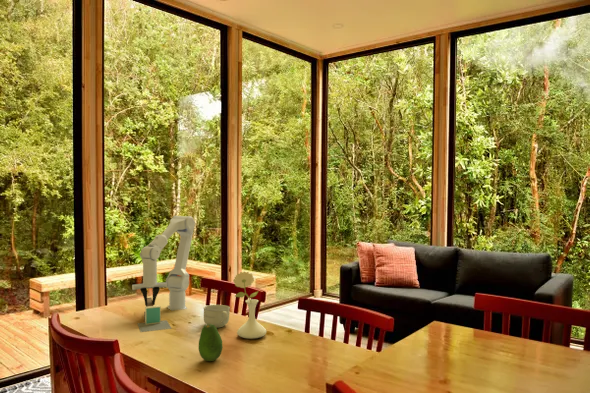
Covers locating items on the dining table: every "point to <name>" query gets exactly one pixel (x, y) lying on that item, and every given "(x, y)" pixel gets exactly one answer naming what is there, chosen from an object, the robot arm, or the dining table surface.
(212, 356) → the fruit
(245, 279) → the flower in vase
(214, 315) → the teacup
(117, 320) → the dining table surface
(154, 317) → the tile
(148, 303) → the hammer
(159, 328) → the mat
